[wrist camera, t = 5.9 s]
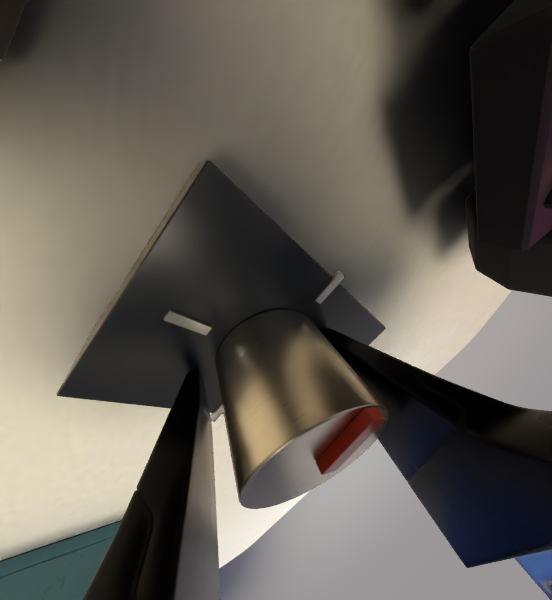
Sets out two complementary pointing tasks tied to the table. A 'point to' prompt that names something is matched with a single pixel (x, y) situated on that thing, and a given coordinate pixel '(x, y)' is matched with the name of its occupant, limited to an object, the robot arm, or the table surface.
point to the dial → (291, 408)
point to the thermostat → (204, 298)
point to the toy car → (513, 149)
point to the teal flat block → (56, 568)
